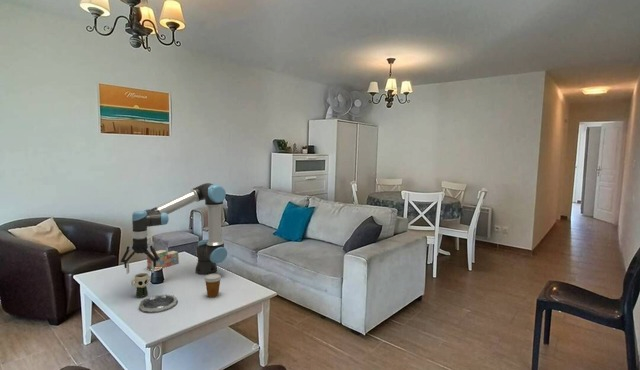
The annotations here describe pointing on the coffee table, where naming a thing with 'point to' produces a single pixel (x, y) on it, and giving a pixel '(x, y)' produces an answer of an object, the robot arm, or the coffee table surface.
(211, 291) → the disposable coffee cup
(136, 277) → the character mug
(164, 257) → the stack of blocks
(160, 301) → the silver metal tray
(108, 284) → the coffee table surface
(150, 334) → the coffee table surface
